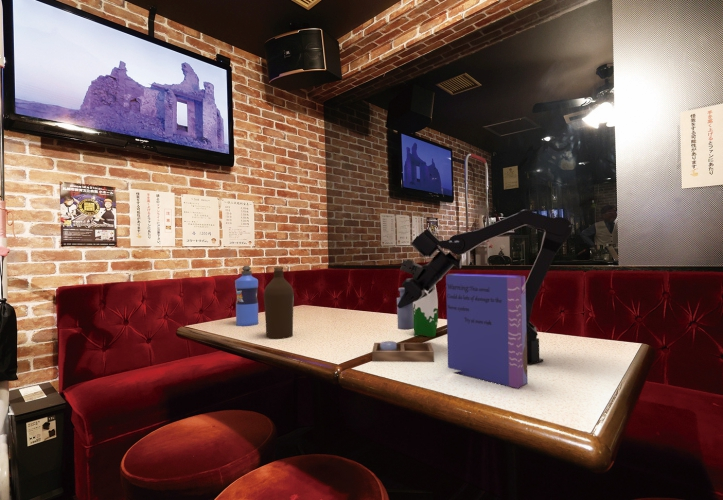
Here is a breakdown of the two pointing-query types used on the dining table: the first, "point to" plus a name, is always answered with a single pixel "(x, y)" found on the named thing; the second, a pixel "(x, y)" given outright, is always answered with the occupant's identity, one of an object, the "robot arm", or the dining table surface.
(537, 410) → the dining table surface
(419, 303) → the milk carton
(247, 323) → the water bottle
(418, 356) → the caddy
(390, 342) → the blue-grey round dome
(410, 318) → the flask
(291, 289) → the olive oil
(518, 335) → the purple book
